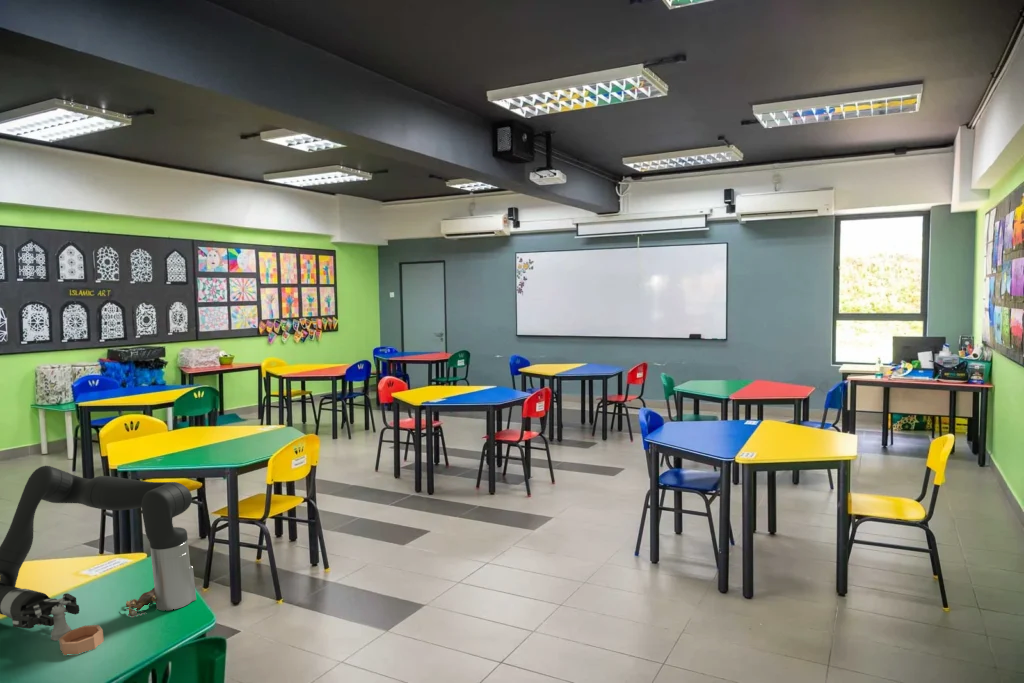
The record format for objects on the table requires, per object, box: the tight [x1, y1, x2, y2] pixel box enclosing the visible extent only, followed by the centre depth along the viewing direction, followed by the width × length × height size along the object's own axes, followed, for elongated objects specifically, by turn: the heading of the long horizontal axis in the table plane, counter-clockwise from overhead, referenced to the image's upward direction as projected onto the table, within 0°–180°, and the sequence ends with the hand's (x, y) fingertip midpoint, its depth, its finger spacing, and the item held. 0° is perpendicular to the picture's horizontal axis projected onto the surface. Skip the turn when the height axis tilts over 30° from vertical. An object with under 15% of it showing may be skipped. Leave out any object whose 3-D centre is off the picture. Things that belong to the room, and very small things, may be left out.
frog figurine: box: [125, 587, 156, 618], centre depth 184 cm, size 12×12×4 cm
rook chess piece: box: [50, 604, 72, 642], centre depth 169 cm, size 4×4×8 cm
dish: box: [58, 624, 105, 656], centre depth 165 cm, size 8×8×3 cm
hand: (64, 615), depth 168 cm, fingers open, 5 cm apart
